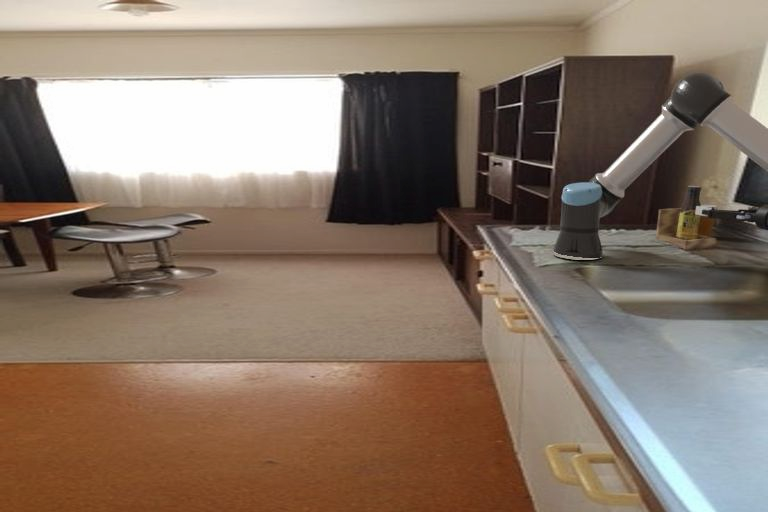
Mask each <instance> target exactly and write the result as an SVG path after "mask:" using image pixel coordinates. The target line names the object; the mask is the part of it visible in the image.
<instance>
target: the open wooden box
mask: <svg viewBox="0 0 768 512" xmlns="http://www.w3.org/2000/svg"><path fill="white" fill-rule="evenodd" d="M680 212H681V207H680V208H679V207H677V208H676V207H675V208H663V209H662V208H661V209H658V216H657V223H656V234H655V240H656V239H657V240H660V241H663V242H666V243H669V244H672V245H675V246H678V247H680V248H679V249H681V248H683V249H682V250H693V249H694V248H696V249H705V248H706V249H707V248H708V247H709V248H716V247H717V238H715V237H711V236H710V237H707V236H702V235H698V234H697V238H696V239H695V240H683V239H679V238H676V234H677V228H678V222H679V216H680ZM694 250H695V249H694Z"/></svg>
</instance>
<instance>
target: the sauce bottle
mask: <svg viewBox="0 0 768 512" xmlns="http://www.w3.org/2000/svg"><path fill="white" fill-rule="evenodd" d="M686 190H687V193H686V198H685V200H684V201H683V203H682V205H680V206H681V207H680V208H681V212H680V216H679V222H678V228H677V234H676V238H679V239H683V240H695V239H696V238H697V232H698V226H699V220H700V215H696V214H695V212H696V206H701V204H702V203H701V201H700V193H701V191H702V186H698V185H687V188H686Z"/></svg>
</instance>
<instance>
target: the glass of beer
mask: <svg viewBox="0 0 768 512" xmlns="http://www.w3.org/2000/svg"><path fill="white" fill-rule="evenodd" d="M700 204H701V207H708V208H712V207H714V209H716V210H719V209H718V206H717V205H715V204H704V203H703V204H702V203H700ZM707 217H708V216H702V215H700V220H699V226H698V232H697V234H698V235H702V236H707V237H711V232H712V230H713V225H714V223H715V222H714V221H715V219H714V218H707Z"/></svg>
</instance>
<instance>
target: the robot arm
mask: <svg viewBox="0 0 768 512" xmlns="http://www.w3.org/2000/svg"><path fill="white" fill-rule="evenodd" d="M733 101H734V99H733V96H732V95H731V94H730V93H728V92H727V91H726V90H725V87H724V85H723V83H722V82H721V80H719V79H718V78H716V77H715V76H713V75H712V74H709V73H707V72H703V71H697V72H692V73H688V74H686V75H685V76H682V77H681V78H680V79H679V80H678V81H677V82H676V83H675V84H674V86H673V88H672V89H671V94H670V97H669V98H668V99H667V100H666V101H665V102H664V103H663V104H661V113H660V114H659V116H657V118H656V119H655V120H654V121H652V123H651V124H650V125H649V126H648V127H647V128H646V129H645V130H643V132H642V133H641V134H640V135H639V136H638V138H636V139H635V140H634V141H633V142H632V143H631V144H630V145H629V147H627V149H625V151H624V152H622V153H621V155H620V156H619V157H618V158H617V159H616V160H614V162H613V163H612V164H611V165H610V166H609V167H607V168H606V170H605V171H603V172H600V173H596V174H594V175H593V177H592V178H591V179H590V180H589V181H588V182H587V181H586V182H583V181H582V182H574V183H570V184H567V185H565V186H564V187H563V189H562V194H561V197H560V198H561V207H560V223H559V225H560V227H559V233H558V236H557V239H556V241H555V243H554V246H553V250H552V252H553V251H554V252H556V253H558V254H561V255H567V256H573V257H582V258H600V257H602V258H603V254H604V253H603V252H604V250H603V247H602V243H601V242H602V241H601V239H600V235H599V231H600V229H599V228H600V219H601V218H604V217H605V216H607V215H609V214H610V213H611V212H612V211H614V209H615V206H616V205H617V204H618V203H619V202H620V201H621V200H622V199H623V198H624V197H625V190H626V189H627V188H628V187H629V186H630V185H631V184H632V183H633V182H634V181H635V180H636V179H637V178H638V177H639V176H640V175H641V174H642V173H643V172H644V171H646V169H647V168H649V166H650V165H652V164H653V163H654V162H655V160H657V159H658V158H659V157H660V156H661V155H662V154H663V153H664V152H665V151H666V150H667V149H668V148H669V147H670V146H671V145H672V144H673V143H674V142H675V141H676V140H677V139H678V138H679V137H680V136H682V134H683V133H684V132H687V131H688V132H689V131H694V130H695V129H696V128H697V127H698V126H701V127H705V126H706V127H709V128H710V129H712V130H713V131H714V132H716V133H717V134H718V135H719V136H720V137H722V138H724V140H726V141H727V142H728V143H730V144H731V145H732V146H734V147H735V148H736V149H737V150H739V151H740V152H742V154H744V155H746V157H748V158H749V159H751V160H752V161H753V162H754V163H756V164H757V165H758V166H760V167H761V168H762V169H764V170H765V171H766V172H768V127H766V126H765V125H764V124H762V123H761V122H760V121H758V120H757V119H756V118H755V117H753V116H752V115H750V114H749V113H748V112H747V111H745V110H744V109H742V108H741V107H739V106H738V105H737V104H735V103H734V102H733ZM695 214H696V215H702V216H708V217H707V218H714V220H724V221H736V222H740V223H741V222H742V223H744V222H747V223H755V226H756V227H757V228H758V229H760V230H764V231H768V204H764V205H762V206H757V207H756V206H748V205H742V204H741V205H740V204H733V203H731V204H730V205H729V210H728V209H718V210H716V209H714V207H712V208H708V207H701V206H696V212H695Z"/></svg>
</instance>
